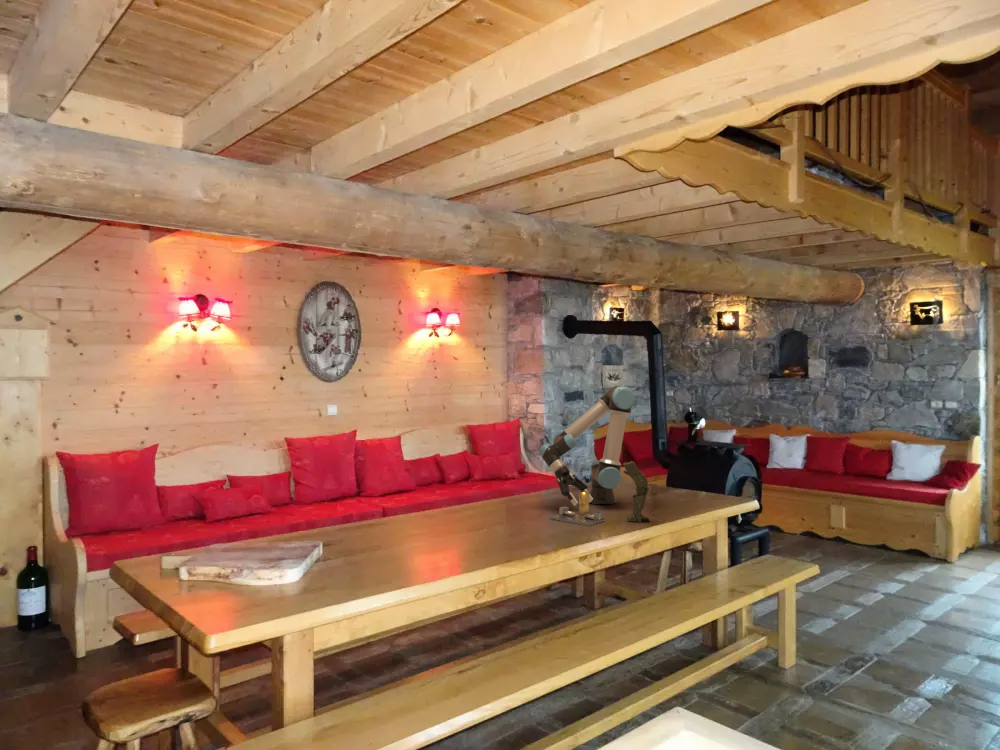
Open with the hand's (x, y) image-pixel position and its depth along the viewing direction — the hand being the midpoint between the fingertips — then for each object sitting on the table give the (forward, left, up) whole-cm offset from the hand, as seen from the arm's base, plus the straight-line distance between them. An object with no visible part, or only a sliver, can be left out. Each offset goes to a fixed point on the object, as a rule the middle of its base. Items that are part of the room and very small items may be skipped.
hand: (584, 502), depth 359 cm
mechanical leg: (-7, +28, -6) cm, 29 cm away
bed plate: (+14, +9, -6) cm, 17 cm away
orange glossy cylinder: (-1, 0, -6) cm, 6 cm away
